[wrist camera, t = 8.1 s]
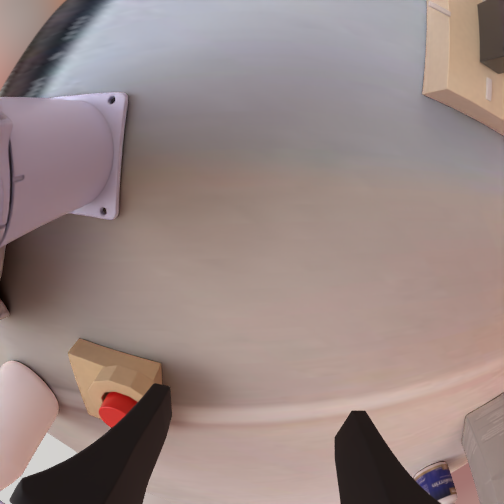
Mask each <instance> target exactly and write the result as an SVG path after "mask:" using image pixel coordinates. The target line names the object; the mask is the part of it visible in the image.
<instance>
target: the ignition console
mask: <svg viewBox="0 0 504 504" xmlns="http://www.w3.org/2000/svg"><path fill="white" fill-rule="evenodd" d="M68 356H69V359H70V363H71V366H72V369H73V372H74V375H75V379H76V382H77V384H78V387H79V390H80V393H81V396H82V399H83V401H84V404H85V406H86V409H87V412H88V414H89V415H92V416H94V417H96V418H99V419H101V417H100V415H99V408H100V407H101V405H102V403H103V401H104V399H105V398H106V396H107V394H108V393H110V392H117V393H120V394H123V395H127V396H129V397H131V398H132V399H134V400H135V401H137V402H138V401H139V400H140V399H141V398H142V397H143V396H144V394H145V393H146V392H147V391H148V390H149V388H150V387H151V386H152V384H154V383H157V384H161V385H162V368H161V363H158V362H155V361H151V360H147V359H143V358H140V357H136V356H133V355H129V354H126V353H123V352H119V351H116V350H113V349H110V348H107V347H103V346H100V345H97V344H94V343H91V342H89V341H86V340H83V339H80V338H79V339H78V341H77V342H76V343H75V344H74V346H73V347H72V348H71V349H70V350H69V352H68Z"/></svg>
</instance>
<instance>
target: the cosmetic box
mask: <svg viewBox="0 0 504 504" xmlns="http://www.w3.org/2000/svg"><path fill="white" fill-rule="evenodd" d="M462 445H463V448H464V451H465V454H466V457H467V460H468V463H469V466H470V469H471V472H472V476H473V479H474V482H475V486H476V489H477V493H478V496H479V501H480V504H504V393H503V394H502V395H500V396H499V397H497V398H495V399H494V400H492V401H490V402H489V403H487V404H485V405H484V406H482V407H480V408H478V409H476V410H475V411H473V412H471V413H469V414H468V415H466V418H465V425H464V431H463V437H462Z"/></svg>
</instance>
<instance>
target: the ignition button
mask: <svg viewBox="0 0 504 504" xmlns="http://www.w3.org/2000/svg"><path fill="white" fill-rule="evenodd" d="M136 404H137V401H135V400H134V399H132V398H131V397H129V396H127V395H123V394H120V393H117V392H110V393H108V394H107V396H106V398H105V399H104V401H103V403H102V405H101V407H100V408H99V415H100V417H101V419H102V420H103V421H104V422H105V423H106V424H107V425H108V426H110V427H111V428H112V427H113V426H115V425H116V424H117V423H118V422H119V421H120V420H121V419H122V418H123V417H124V416H125V415H126V414H127V413H128V412H129V411H130V410H131V409H132V408H133V407H134V406H135V405H136Z"/></svg>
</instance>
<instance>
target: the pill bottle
mask: <svg viewBox="0 0 504 504" xmlns="http://www.w3.org/2000/svg"><path fill="white" fill-rule="evenodd" d="M414 480H415V481H416V482H417V483H418V484H419V485H420V486H421V487H422V488H423V489H424V490H425V491H426V492H428V493H429V494H430V495H431V496H432V497H433V498H435V499H436V500H437V501H439V502H440V503H441V504H454V502H455V501H456V499H457V493H456V489H455V486H454V483H453V480H452V477H451V473H450V470H449V467H448V465H447V463H446V462H438V463H435V464H432V465H430V466H428V467H426V468H424V469H422V470H421V471H419V472H418V473H417V474H416V475H415V477H414Z"/></svg>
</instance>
